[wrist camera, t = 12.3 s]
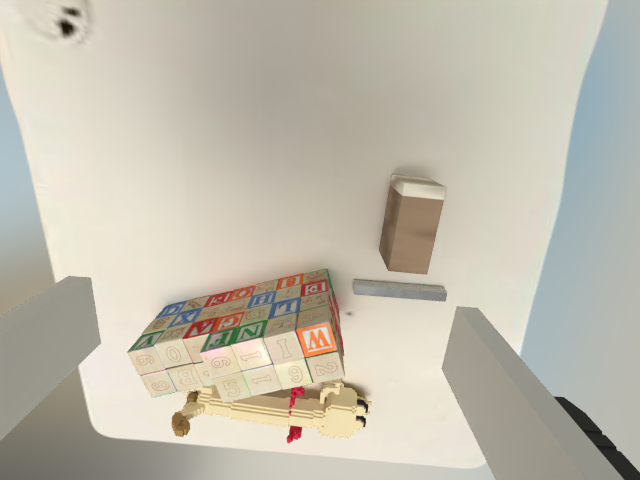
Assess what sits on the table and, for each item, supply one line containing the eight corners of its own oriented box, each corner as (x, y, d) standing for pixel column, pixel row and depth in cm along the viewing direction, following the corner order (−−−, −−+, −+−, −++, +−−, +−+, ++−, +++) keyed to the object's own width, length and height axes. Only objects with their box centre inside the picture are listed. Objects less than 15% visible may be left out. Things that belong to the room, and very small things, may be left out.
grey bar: (354, 279, 41) (355, 285, 39) (442, 286, 41) (447, 292, 40) (353, 288, 41) (354, 294, 40) (440, 295, 41) (445, 301, 40)
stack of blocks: (184, 344, 44) (134, 422, 33) (165, 304, 42) (106, 371, 31) (340, 310, 43) (346, 379, 31) (328, 266, 41) (330, 323, 29)
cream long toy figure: (197, 406, 49) (365, 429, 48) (166, 461, 41) (368, 491, 40) (194, 350, 46) (374, 373, 45) (159, 398, 38) (379, 428, 36)
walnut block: (378, 250, 40) (391, 174, 37) (412, 253, 40) (427, 178, 37) (388, 270, 34) (404, 182, 31) (427, 274, 34) (446, 187, 31)
